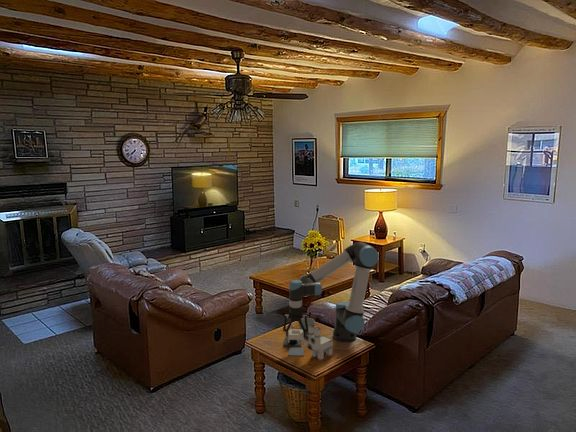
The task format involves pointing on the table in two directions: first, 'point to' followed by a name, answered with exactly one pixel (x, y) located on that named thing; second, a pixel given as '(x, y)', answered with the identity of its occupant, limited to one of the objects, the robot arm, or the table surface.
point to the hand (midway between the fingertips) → (295, 341)
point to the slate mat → (296, 351)
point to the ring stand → (292, 341)
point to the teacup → (309, 321)
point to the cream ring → (295, 334)
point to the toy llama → (318, 343)
